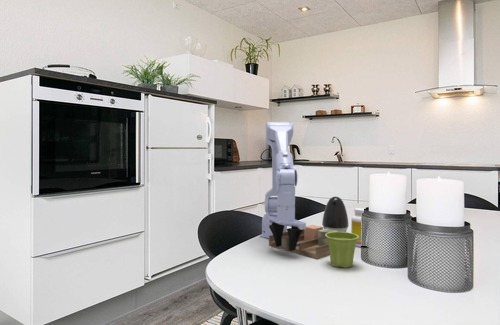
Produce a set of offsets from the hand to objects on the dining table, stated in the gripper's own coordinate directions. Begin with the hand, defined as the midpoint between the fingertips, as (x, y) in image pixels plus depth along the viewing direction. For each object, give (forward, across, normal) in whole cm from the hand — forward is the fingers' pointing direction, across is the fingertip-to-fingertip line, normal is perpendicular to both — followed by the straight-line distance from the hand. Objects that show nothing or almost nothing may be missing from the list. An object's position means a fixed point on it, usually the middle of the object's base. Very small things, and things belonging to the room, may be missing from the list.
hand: (285, 248), depth 112 cm
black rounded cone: (+2, -4, +35) cm, 35 cm away
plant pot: (+2, +18, +4) cm, 19 cm away
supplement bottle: (+2, +11, +28) cm, 30 cm away
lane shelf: (+2, 0, +11) cm, 11 cm away
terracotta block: (0, 0, +8) cm, 8 cm away
